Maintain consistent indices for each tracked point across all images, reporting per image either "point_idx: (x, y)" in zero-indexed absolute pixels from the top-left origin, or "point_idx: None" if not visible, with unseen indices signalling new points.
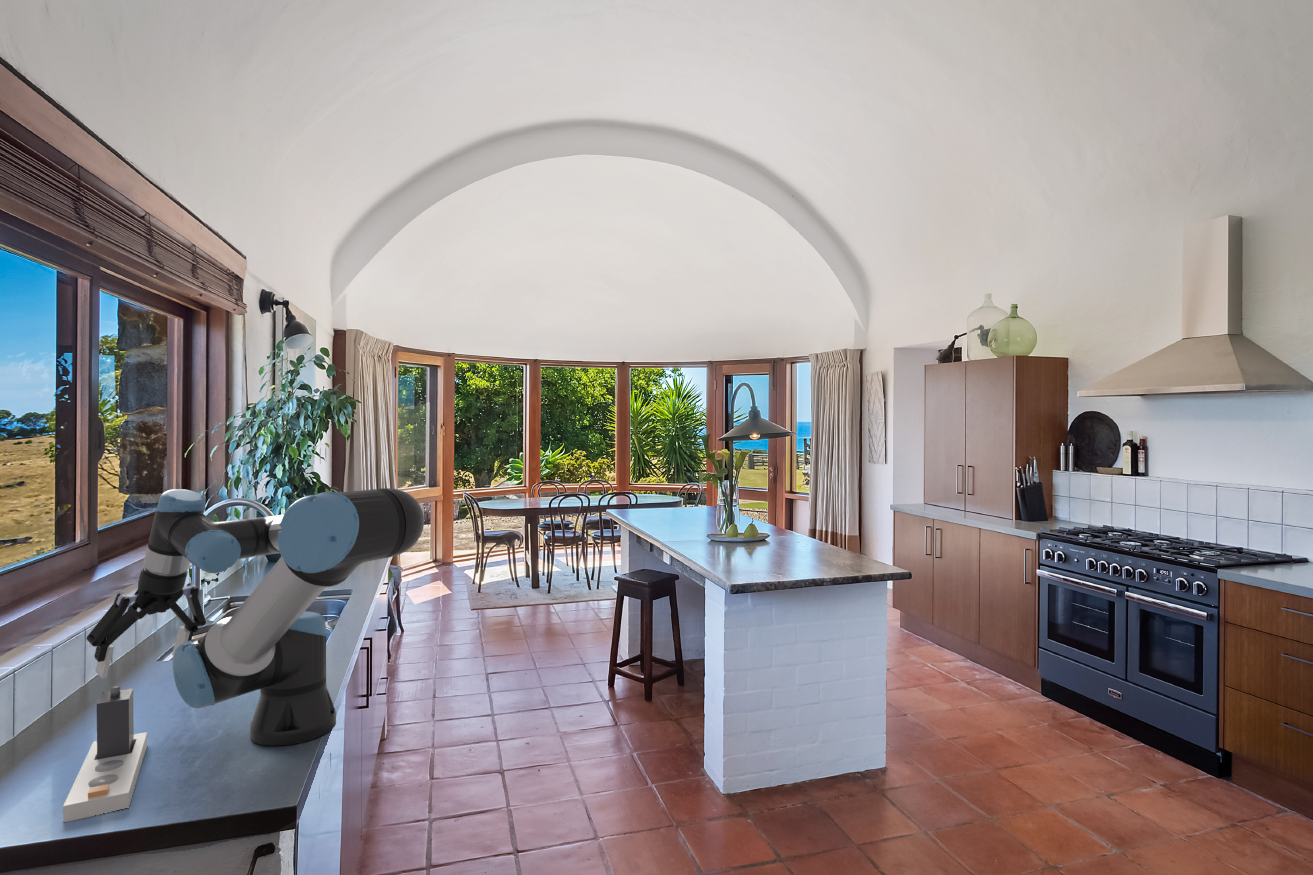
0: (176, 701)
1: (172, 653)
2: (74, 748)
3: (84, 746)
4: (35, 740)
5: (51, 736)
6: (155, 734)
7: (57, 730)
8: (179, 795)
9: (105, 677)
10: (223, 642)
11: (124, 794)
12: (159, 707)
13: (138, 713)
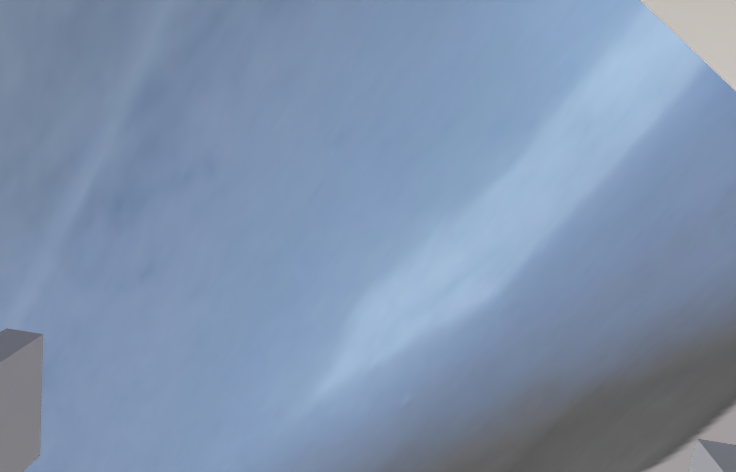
0: (99, 319)
1: (33, 458)
2: (656, 234)
3: (626, 215)
4: (616, 429)
5: (570, 415)
6: (399, 23)
7: (517, 443)
8: None
9: (707, 440)
10: None
11: None
12: (180, 323)
13: (267, 339)
